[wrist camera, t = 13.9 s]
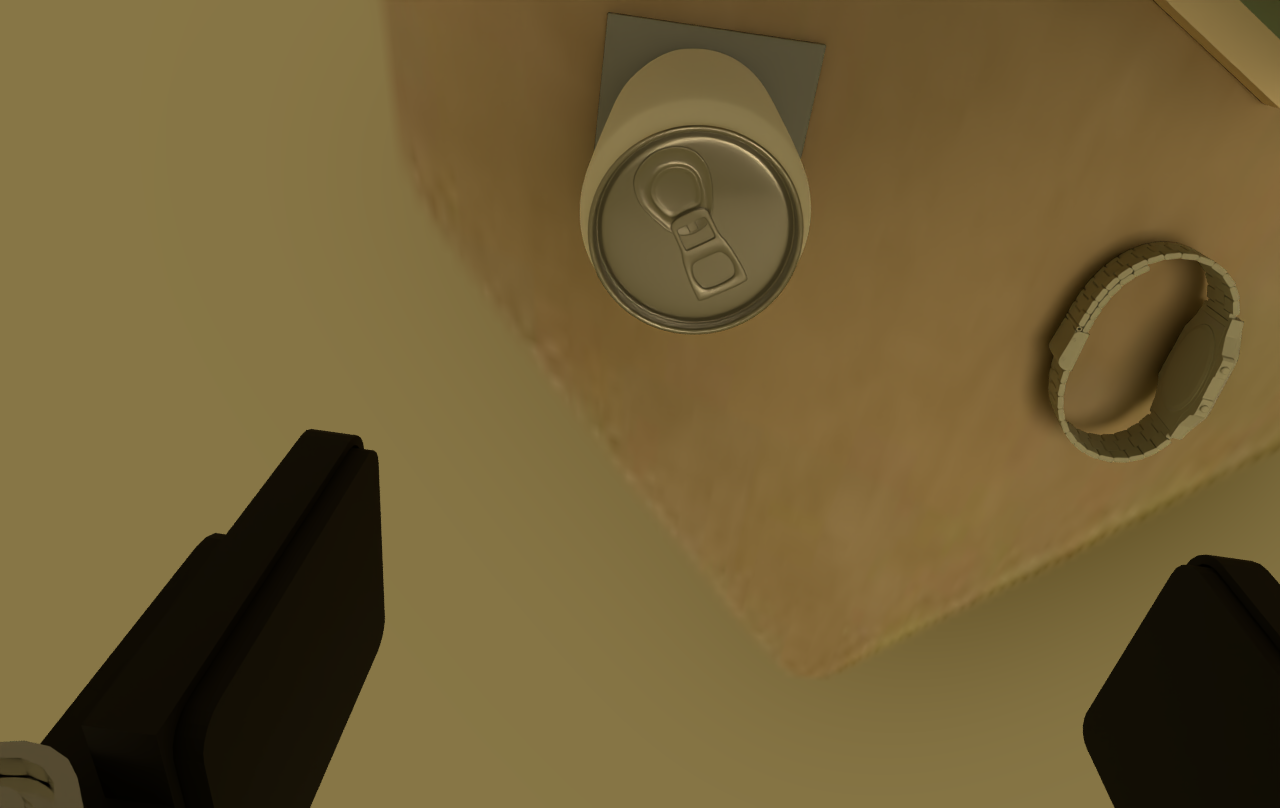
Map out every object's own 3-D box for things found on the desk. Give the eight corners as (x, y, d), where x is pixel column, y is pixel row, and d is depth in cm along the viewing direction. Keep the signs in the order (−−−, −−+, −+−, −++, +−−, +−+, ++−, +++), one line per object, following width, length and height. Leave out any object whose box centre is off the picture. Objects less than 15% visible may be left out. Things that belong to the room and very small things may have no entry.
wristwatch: (1132, 434, 38) (1189, 499, 34) (1001, 409, 38) (1042, 471, 34) (1240, 248, 34) (1322, 295, 29) (1093, 217, 33) (1154, 260, 29)
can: (736, 12, 30) (762, 57, 19) (802, 175, 32) (856, 291, 22) (578, 96, 31) (524, 180, 21) (654, 244, 34) (640, 383, 24)
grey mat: (824, 44, 30) (826, 45, 30) (778, 250, 34) (779, 254, 34) (608, 12, 30) (608, 13, 30) (587, 223, 34) (586, 226, 34)
